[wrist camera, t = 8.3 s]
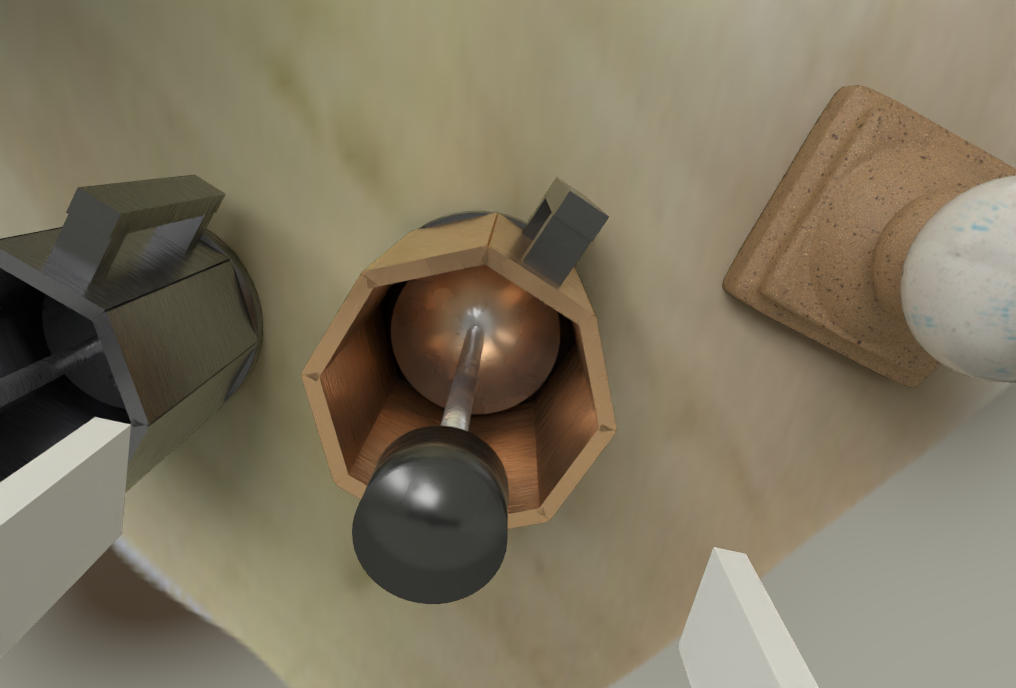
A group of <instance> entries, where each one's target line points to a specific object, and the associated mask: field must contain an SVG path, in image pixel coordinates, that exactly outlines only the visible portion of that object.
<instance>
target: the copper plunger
mask: <svg viewBox="0 0 1016 688" xmlns="http://www.w3.org/2000/svg"><path fill="white" fill-rule="evenodd" d="M391 341H392V346H393V351H394V354H395V357H396V360H397V363H398V365H399V367H400V369H401V371H402V372H403V374H404V375H405V377H406V378H407V380H408V381H409V382H410V383H411V385H412V386H413V387H414V388H415V389H416V390H417V391H418V392H419V393H420V394H422V395H423V396H424V397H426V398H427V399H429V400H430V401H431V402H433V403H435V404H437V405H439V406H441V407H444V408H445V411H444V415H443V418H442V422H441V425H433V426H425V427H421V428H417V429H414V430H412V431H409V432H407V433H405V434H403V435H401V436H400V437H398V438H397V439H396V440H394V441H393V442H392V443H391V444H390V445H389V446H388V447H387V448H386V449H385V451H384V452H383V453H382V455H381V457H380V458H379V460H378V462H377V465H376V467H375V469H374V471H373V474H372V476H371V478H370V480H369V483H368V485H367V487H366V490H365V492H364V494H363V496H362V499H361V501H360V503H359V505H358V508H357V510H356V513H355V516H354V521H353V528H352V537H353V544H354V549H355V552H356V555H357V557H358V560H359V562H360V563H361V565H362V567H363V569H364V570H365V571H366V573H367V574H368V575H369V576H370V577H371V578H372V579H373V580H374V582H376V583H377V584H378V585H379V586H381V587H382V588H383V589H385V590H386V591H388V592H389V593H391V594H393V595H395V596H397V597H400V598H402V599H405V600H408V601H412V602H417V603H424V604H441V603H449V602H453V601H457V600H460V599H463V598H465V597H468V596H469V595H471V594H473V593H475V592H477V591H478V590H480V589H481V588H482V587H484V586H485V585H486V584H487V583H488V582H489V581H490V580H491V579H492V578H493V576H494V575H495V574H496V572H497V571H498V569H499V568H500V565H501V563H502V561H503V559H504V555H505V552H506V546H507V529H508V497H509V484H508V478H507V474H506V471H505V468H504V466H503V463H502V461H501V460H500V458H499V456H498V455H497V453H496V452H495V451H494V450H493V449H492V448H491V447H490V446H489V445H488V444H487V443H486V442H485V441H484V440H482V439H481V438H479V437H478V436H476V435H474V434H472V433H470V432H468V429H469V423H470V418H471V414H487V413H494V412H498V411H502V410H505V409H508V408H510V407H513V406H515V405H517V404H518V403H520V402H522V401H524V400H525V399H526V398H528V397H529V396H530V395H532V394H533V393H534V392H535V391H536V390H537V389H538V388H539V387H540V386H541V385H542V383H543V382H544V381H545V380H546V378H547V376H548V375H549V373H550V372H551V370H552V368H553V365H554V363H555V361H556V357H557V354H558V350H559V343H560V324H559V317H558V313H557V311H556V310H555V309H553V308H552V307H550V306H549V305H547V304H546V303H544V302H543V301H541V300H539V299H538V298H536V297H535V296H533V295H532V294H530V293H529V292H527V291H525V290H524V289H522V288H521V287H519V286H518V285H516V284H515V283H513V282H511V281H510V280H508V279H507V278H505V277H504V276H502V275H501V274H499V273H498V272H496V271H494V270H493V269H491V268H490V267H488V266H487V265H485V264H484V265H479V266H474V267H469V268H465V269H460V270H455V271H450V272H445V273H441V274H436V275H431V276H426V277H421V278H417V279H412V280H409V281H408V283H407V284H406V286H405V287H404V288H403V290H402V292H401V294H400V295H399V297H398V299H397V302H396V305H395V308H394V311H393V316H392V321H391Z"/></svg>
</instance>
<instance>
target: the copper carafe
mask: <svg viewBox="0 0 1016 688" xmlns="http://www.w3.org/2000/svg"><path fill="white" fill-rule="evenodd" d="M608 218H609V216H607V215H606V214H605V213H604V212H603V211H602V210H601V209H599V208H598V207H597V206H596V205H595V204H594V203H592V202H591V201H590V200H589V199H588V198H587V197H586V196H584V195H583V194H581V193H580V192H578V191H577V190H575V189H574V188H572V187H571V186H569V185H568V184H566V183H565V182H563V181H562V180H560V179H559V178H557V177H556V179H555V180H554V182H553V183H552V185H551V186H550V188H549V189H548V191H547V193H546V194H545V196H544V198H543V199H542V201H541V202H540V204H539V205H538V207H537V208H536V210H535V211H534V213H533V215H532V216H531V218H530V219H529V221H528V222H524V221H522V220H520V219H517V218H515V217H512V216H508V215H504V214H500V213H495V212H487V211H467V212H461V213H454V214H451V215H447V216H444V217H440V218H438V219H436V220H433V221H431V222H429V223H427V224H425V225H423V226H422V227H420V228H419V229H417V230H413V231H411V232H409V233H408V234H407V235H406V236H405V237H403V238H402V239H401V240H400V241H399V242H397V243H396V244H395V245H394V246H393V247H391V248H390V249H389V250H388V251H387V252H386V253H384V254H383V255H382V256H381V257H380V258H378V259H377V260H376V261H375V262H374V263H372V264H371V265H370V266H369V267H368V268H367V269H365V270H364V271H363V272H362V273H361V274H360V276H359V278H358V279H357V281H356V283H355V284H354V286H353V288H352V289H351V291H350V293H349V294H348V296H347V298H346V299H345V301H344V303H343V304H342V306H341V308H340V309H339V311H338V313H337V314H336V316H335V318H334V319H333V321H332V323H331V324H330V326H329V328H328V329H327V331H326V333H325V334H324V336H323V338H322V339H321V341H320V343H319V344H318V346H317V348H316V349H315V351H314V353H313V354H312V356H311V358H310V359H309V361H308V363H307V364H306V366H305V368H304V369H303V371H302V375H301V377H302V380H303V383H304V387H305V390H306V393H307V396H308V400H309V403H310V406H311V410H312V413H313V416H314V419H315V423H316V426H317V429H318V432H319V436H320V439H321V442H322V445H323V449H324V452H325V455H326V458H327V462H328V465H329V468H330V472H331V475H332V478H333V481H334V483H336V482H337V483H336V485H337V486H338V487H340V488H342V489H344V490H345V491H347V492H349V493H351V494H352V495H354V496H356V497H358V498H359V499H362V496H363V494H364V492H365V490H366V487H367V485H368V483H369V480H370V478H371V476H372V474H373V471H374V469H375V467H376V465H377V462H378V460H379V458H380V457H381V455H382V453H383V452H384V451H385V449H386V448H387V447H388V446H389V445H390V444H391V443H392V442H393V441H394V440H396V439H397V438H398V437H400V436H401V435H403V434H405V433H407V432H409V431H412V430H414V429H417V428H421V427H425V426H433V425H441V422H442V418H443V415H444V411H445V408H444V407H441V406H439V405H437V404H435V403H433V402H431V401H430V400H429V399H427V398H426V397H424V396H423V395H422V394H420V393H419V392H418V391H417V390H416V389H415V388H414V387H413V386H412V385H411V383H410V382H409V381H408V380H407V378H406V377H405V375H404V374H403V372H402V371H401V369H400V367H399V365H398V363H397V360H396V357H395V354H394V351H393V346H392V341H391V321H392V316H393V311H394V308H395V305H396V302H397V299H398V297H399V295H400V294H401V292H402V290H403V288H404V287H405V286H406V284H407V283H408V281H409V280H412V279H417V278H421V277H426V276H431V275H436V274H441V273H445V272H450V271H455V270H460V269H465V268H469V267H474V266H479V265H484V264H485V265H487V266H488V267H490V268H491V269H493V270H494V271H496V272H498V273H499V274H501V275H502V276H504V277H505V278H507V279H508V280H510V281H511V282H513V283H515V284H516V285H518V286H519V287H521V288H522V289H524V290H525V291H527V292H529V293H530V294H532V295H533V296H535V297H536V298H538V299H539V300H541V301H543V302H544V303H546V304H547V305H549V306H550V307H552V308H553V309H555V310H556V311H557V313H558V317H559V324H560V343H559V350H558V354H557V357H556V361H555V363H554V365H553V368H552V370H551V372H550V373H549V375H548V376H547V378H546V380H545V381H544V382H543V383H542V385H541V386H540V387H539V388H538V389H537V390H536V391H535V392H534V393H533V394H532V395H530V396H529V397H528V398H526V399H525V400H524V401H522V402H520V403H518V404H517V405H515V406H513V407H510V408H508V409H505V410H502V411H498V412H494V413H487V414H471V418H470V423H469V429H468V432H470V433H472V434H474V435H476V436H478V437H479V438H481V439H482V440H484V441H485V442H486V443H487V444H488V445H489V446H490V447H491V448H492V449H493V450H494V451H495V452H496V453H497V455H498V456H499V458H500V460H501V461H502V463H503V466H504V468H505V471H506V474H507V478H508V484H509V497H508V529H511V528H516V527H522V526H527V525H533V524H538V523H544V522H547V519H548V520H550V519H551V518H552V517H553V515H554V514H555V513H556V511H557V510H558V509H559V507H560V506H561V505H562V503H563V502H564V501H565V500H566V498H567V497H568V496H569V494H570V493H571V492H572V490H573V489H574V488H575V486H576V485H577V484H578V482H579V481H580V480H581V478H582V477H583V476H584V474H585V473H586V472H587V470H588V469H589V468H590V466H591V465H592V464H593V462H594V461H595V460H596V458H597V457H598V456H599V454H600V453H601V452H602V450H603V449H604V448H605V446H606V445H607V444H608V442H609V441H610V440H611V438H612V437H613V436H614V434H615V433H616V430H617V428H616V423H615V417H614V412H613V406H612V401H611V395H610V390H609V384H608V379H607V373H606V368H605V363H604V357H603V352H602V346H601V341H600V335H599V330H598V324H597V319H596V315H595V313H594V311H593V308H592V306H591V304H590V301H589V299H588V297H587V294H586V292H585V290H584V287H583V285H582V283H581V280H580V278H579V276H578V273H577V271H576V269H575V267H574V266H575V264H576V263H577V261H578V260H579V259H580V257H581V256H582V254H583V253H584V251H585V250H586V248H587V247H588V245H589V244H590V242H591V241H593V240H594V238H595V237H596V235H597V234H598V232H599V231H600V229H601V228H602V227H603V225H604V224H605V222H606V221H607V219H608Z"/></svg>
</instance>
